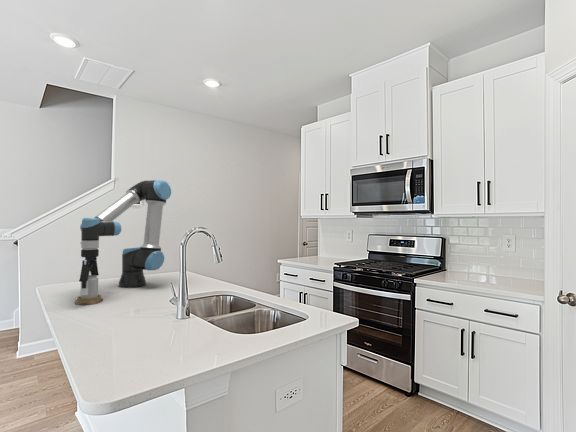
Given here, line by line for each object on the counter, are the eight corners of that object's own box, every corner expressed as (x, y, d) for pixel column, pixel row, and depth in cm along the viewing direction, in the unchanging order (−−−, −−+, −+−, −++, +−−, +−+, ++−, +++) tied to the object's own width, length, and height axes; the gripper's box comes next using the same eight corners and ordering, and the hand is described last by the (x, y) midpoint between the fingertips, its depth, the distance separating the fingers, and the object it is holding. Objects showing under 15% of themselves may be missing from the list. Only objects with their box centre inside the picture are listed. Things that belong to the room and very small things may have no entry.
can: (99, 300, 166) (99, 276, 166) (81, 302, 161) (82, 277, 161) (96, 297, 172) (97, 273, 171) (79, 299, 167) (79, 275, 167)
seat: (105, 298, 174) (105, 293, 174) (100, 304, 163) (100, 298, 163) (78, 299, 170) (78, 294, 170) (71, 305, 159) (71, 300, 159)
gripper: (89, 246, 177) (88, 286, 177) (72, 251, 153) (71, 298, 153) (105, 246, 179) (104, 286, 179) (90, 251, 155) (89, 297, 155)
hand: (89, 291), depth 166 cm, fingers open, 13 cm apart
